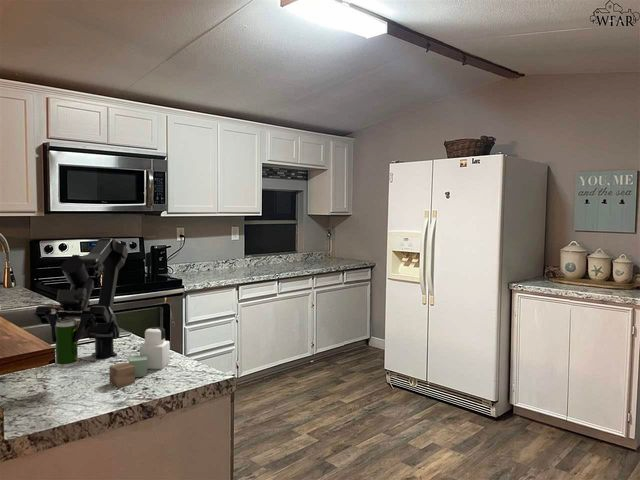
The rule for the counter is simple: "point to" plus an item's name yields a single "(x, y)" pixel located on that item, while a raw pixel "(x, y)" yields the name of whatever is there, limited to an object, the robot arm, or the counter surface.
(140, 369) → the sage block
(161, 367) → the medicine bottle
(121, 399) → the counter surface
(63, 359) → the beer can
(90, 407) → the counter surface
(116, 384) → the walnut block
